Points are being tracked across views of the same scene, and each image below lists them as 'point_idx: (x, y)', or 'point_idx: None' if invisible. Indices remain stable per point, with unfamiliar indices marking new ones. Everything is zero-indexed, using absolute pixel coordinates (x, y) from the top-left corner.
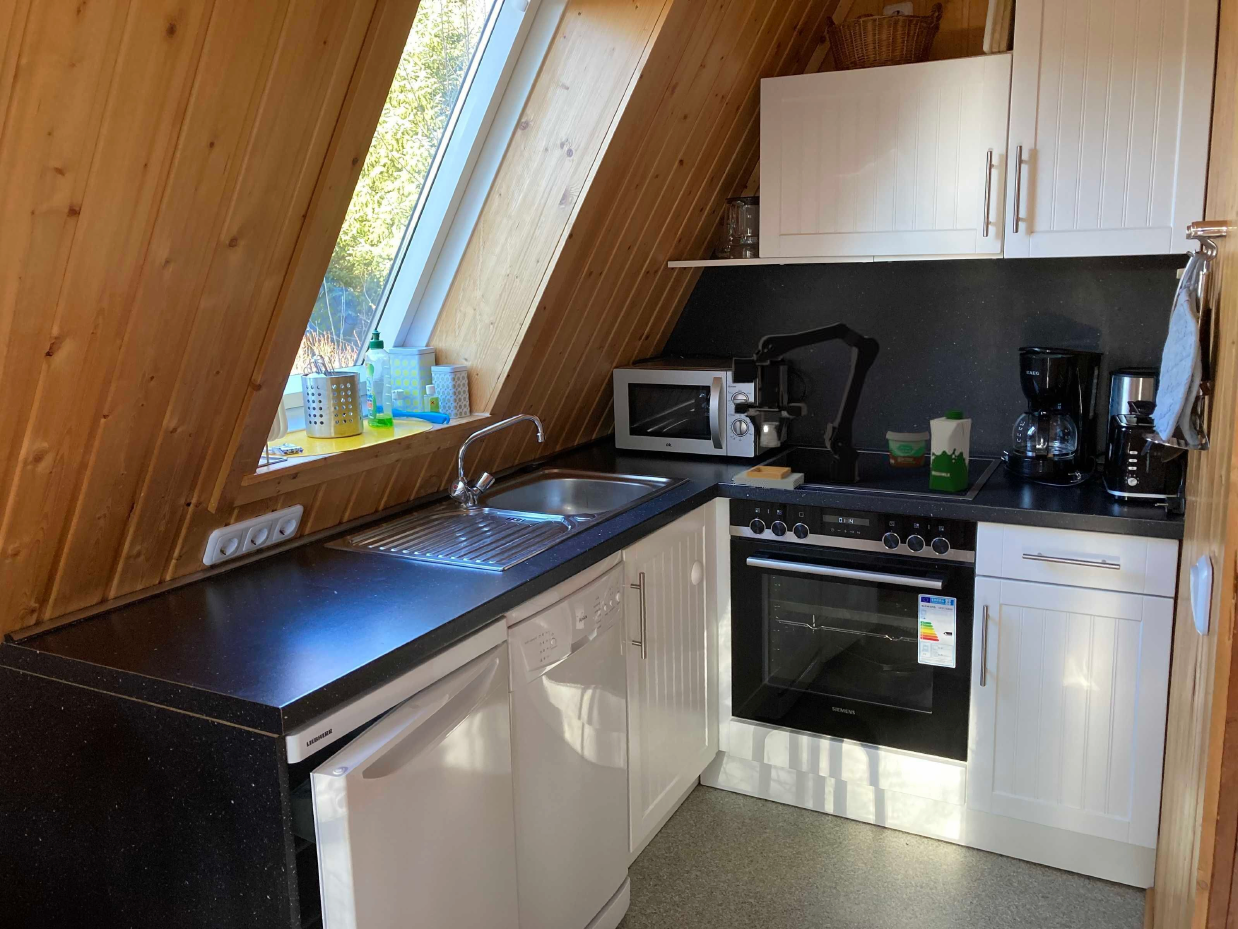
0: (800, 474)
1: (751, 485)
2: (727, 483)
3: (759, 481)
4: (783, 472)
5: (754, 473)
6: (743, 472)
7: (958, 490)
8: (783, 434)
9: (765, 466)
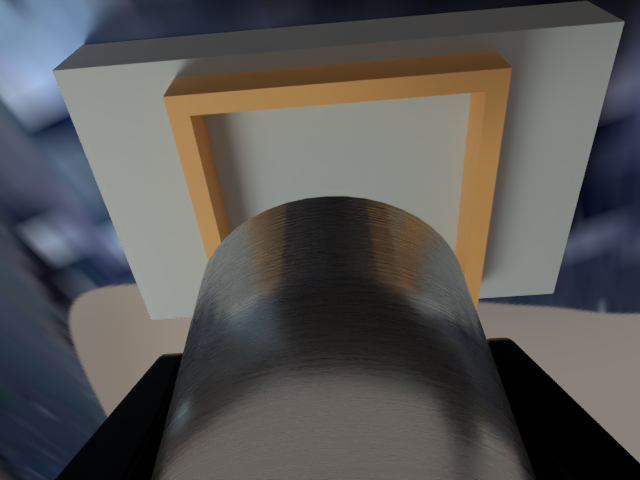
0: (592, 75)
1: None
2: (82, 230)
3: None
4: (482, 266)
5: None
6: (109, 174)
7: None
8: (582, 416)
9: (251, 99)
